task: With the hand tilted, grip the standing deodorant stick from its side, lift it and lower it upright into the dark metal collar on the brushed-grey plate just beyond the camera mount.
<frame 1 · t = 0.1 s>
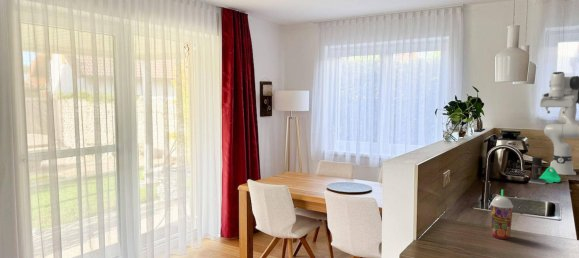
hand: (556, 113, 279), 48 cm above the counter, tool pointing down, fingers open, 8 cm apart
smoothie: (500, 237, 161), on the counter
mount plate: (538, 182, 270), on the counter
deodorant: (536, 178, 287), on the counter
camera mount: (549, 182, 274), on the counter
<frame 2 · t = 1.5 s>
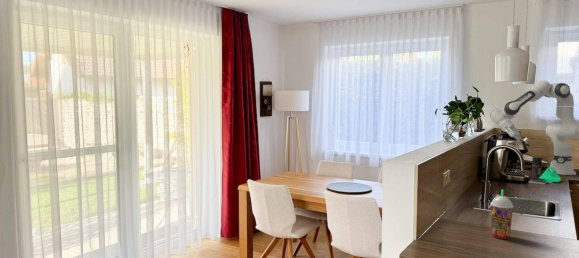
hand: (520, 140, 292), 27 cm above the counter, tool tilted 45°, fingers open, 8 cm apart
nothing on the counter moved.
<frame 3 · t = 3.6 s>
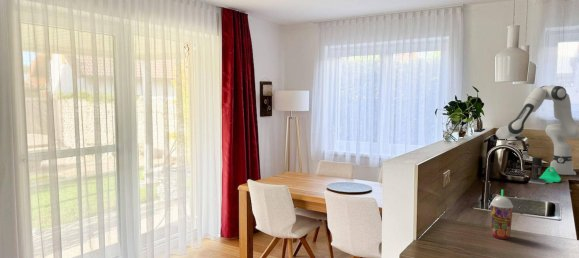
hand: (527, 158, 291), 14 cm above the counter, tool tilted 45°, fingers open, 8 cm apart
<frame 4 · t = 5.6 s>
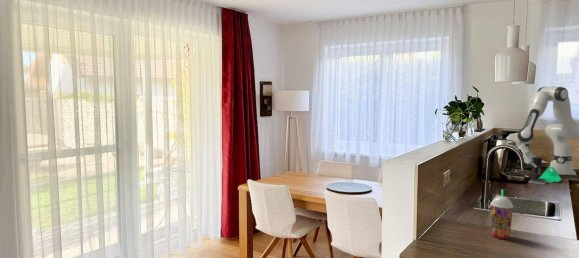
hand: (537, 166, 286), 8 cm above the counter, tool tilted 45°, fingers closed on deodorant, 6 cm apart
deodorant: (536, 178, 287), on the counter, touching gripper
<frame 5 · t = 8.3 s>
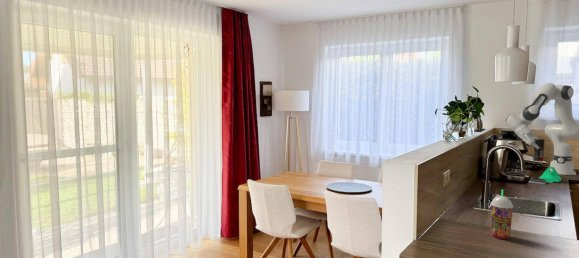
hand: (540, 148, 270), 24 cm above the counter, tool tilted 45°, fingers closed on deodorant, 6 cm apart
deodorant: (538, 160, 271), point 15 cm above the counter, touching gripper
when the fingers open (11 cm above the counter, at t = 11.3 s): deodorant stays where it is, resting on mount plate.
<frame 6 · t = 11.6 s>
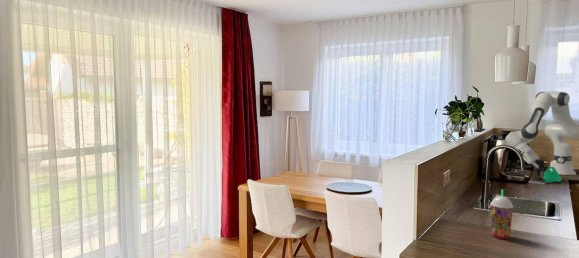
hand: (539, 166, 269), 11 cm above the counter, tool tilted 45°, fingers open, 8 cm apart
deodorant: (538, 181, 270), point 1 cm above the counter, touching mount plate
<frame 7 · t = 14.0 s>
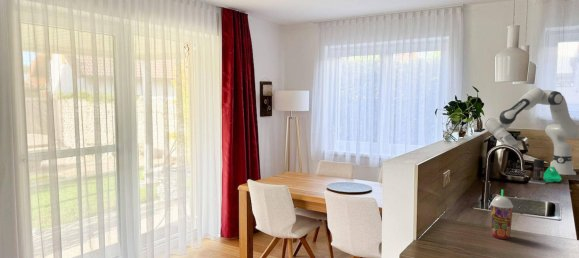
hand: (517, 150, 280), 21 cm above the counter, tool tilted 45°, fingers open, 8 cm apart
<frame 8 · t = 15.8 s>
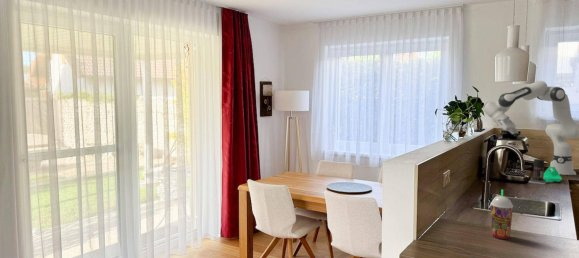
hand: (515, 133, 283), 33 cm above the counter, tool tilted 45°, fingers open, 8 cm apart
at the end: deodorant 0.1 cm off-centre on the mount plate, point 0.8 cm above the mount plate's base; deodorant tilted 0°; the gripper is holding nothing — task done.
